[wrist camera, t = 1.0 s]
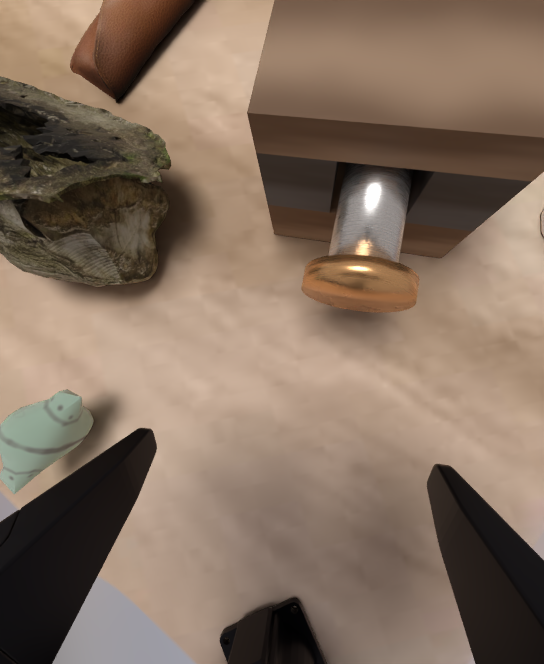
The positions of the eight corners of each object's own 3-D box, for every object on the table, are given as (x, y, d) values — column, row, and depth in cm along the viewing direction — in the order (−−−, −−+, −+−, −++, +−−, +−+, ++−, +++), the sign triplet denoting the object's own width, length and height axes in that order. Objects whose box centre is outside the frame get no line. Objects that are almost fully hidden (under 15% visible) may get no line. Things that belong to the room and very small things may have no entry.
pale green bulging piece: (75, 476, 24) (-12, 515, 18) (42, 447, 25) (-54, 474, 18) (129, 397, 25) (63, 406, 18) (95, 370, 25) (20, 370, 19)
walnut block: (440, 258, 23) (580, 140, 11) (274, 234, 25) (247, 112, 13) (460, 127, 25) (602, -98, 13) (300, 114, 27) (296, -92, 15)
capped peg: (394, 317, 19) (438, 291, 13) (302, 301, 20) (300, 269, 14) (421, 155, 21) (471, 61, 14) (333, 147, 22) (344, 54, 15)
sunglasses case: (166, -55, 31) (163, -137, 25) (218, 7, 34) (227, -54, 28) (64, 71, 31) (35, 18, 24) (125, 125, 33) (113, 89, 27)
